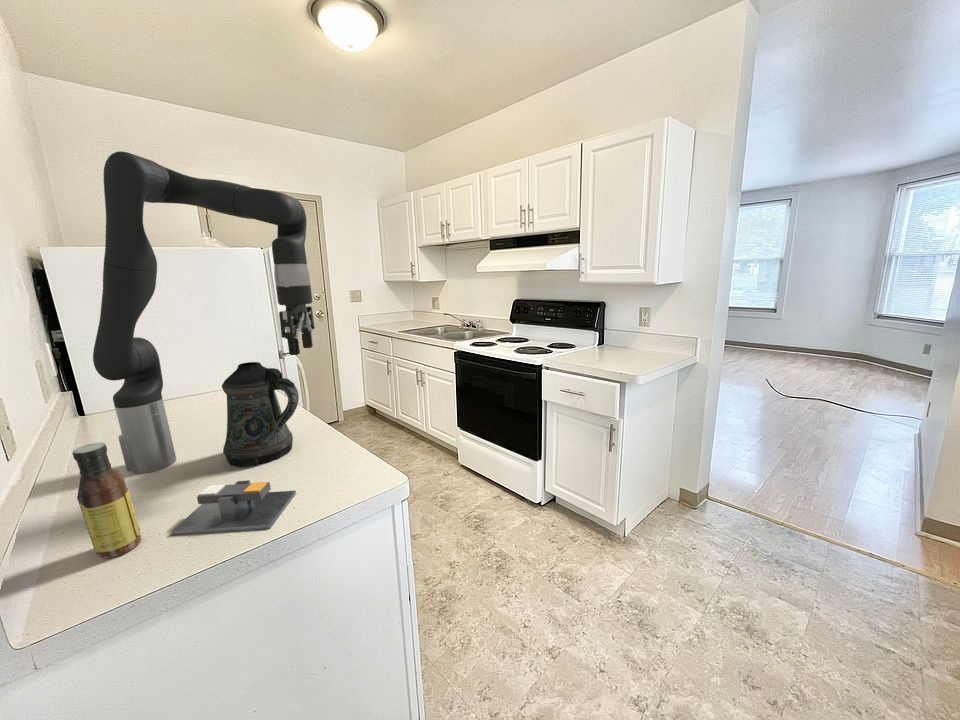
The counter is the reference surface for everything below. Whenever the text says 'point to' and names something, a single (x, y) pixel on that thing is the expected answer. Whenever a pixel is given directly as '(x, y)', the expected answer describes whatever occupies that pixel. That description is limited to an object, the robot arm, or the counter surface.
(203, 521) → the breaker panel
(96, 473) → the sauce bottle
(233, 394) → the beer stein
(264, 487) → the lever
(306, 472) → the counter surface
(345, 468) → the counter surface
